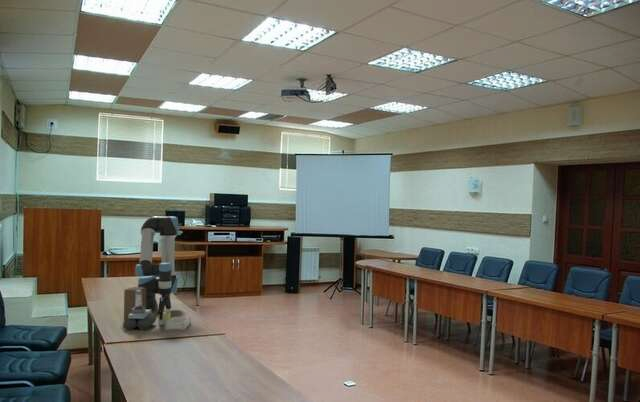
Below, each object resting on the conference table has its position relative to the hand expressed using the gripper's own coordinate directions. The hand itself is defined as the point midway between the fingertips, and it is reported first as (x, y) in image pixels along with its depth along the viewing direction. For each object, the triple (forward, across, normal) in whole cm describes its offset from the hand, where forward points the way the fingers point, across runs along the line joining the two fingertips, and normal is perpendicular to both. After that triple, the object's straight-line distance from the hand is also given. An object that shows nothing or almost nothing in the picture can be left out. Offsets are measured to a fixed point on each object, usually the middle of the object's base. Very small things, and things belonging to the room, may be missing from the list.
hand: (164, 321), depth 297 cm
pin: (-9, +12, -12) cm, 19 cm away
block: (0, -5, -20) cm, 21 cm away
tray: (0, +10, +11) cm, 15 cm away
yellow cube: (0, 0, 0) cm, 0 cm away
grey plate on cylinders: (0, +12, -11) cm, 16 cm away
